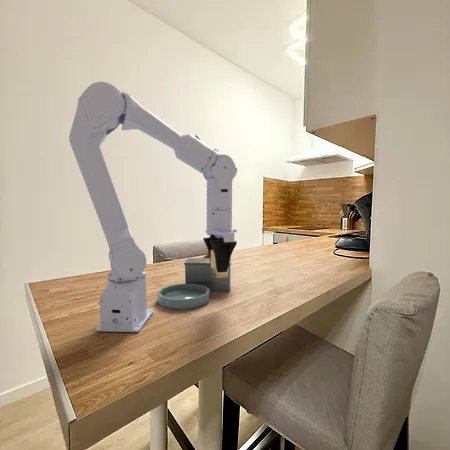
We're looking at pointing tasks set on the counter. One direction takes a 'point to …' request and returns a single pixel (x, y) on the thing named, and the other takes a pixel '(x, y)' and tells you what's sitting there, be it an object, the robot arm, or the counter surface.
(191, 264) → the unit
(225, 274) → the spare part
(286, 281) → the counter surface
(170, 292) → the plate
